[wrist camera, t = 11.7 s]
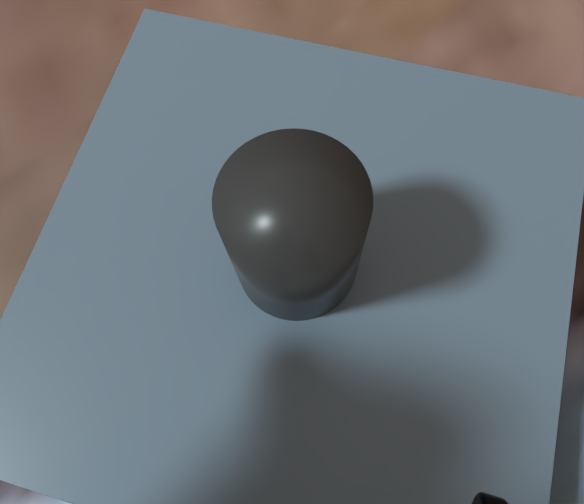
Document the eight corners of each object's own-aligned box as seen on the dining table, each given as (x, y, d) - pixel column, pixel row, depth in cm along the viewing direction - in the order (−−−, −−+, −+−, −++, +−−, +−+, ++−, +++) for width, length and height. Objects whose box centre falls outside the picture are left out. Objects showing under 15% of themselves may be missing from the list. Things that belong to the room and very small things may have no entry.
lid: (506, 629, 14) (644, 761, 8) (-26, 457, 16) (-218, 466, 10) (568, 129, 19) (683, -8, 13) (157, 43, 21) (99, -111, 15)
